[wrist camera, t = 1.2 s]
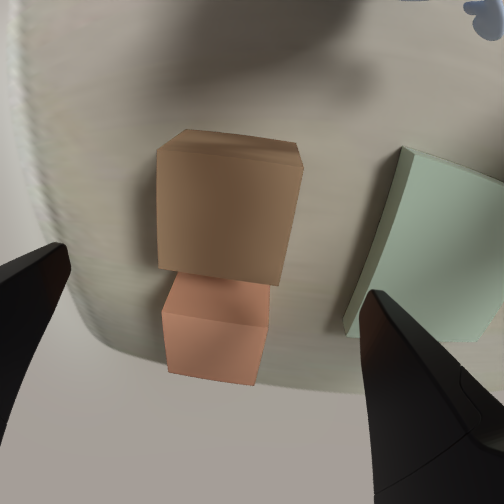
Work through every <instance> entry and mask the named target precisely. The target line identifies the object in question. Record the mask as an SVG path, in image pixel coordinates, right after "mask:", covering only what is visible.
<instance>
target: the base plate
mask: <svg viewBox="0 0 504 504" xmlns="http://www.w3.org/2000/svg"><path fill="white" fill-rule="evenodd" d="M371 289H376V290H383V291H385V292H386V293H387V294H388V295H389V296H390V297H391V298H392V299H393V300H395V301H396V302H397V303H398V304H399V305H400V306H401V307H402V308H403V309H404V310H405V311H406V312H408V313H409V314H410V315H411V316H412V317H413V318H414V319H415V320H416V321H417V322H418V323H419V324H420V325H421V326H422V327H423V328H424V329H425V330H427V331H428V332H429V333H430V334H431V335H432V336H433V337H434V338H435V339H436V340H437V341H438V342H477V341H478V339H479V338H480V337H481V335H482V334H483V332H484V331H485V329H486V328H487V327H488V325H489V324H490V322H491V321H492V319H493V318H494V316H495V315H496V313H497V311H498V310H499V308H500V307H501V305H502V303H503V302H504V183H503V182H501V181H499V180H496V179H494V178H492V177H489V176H487V175H484V174H482V173H479V172H477V171H474V170H472V169H469V168H467V167H464V166H461V165H459V164H456V163H453V162H450V161H448V160H445V159H442V158H439V157H436V156H433V155H430V154H427V153H424V152H421V151H417V150H414V149H411V148H408V147H404V146H402V149H401V153H400V157H399V161H398V164H397V168H396V171H395V175H394V178H393V182H392V185H391V188H390V192H389V195H388V198H387V201H386V205H385V208H384V211H383V214H382V217H381V220H380V223H379V226H378V229H377V232H376V235H375V238H374V240H373V243H372V246H371V249H370V252H369V254H368V257H367V260H366V262H365V265H364V268H363V270H362V273H361V276H360V278H359V281H358V283H357V286H356V288H355V291H354V293H353V296H352V298H351V301H350V303H349V305H348V308H347V310H346V312H345V315H344V317H343V319H342V320H343V325H344V330H345V334H346V337H350V338H360V331H359V312H360V309H361V307H362V305H363V302H364V300H365V298H366V295H367V293H368V292H369V290H371Z"/></svg>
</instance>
